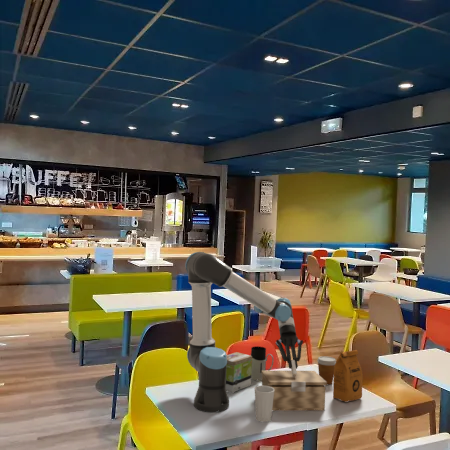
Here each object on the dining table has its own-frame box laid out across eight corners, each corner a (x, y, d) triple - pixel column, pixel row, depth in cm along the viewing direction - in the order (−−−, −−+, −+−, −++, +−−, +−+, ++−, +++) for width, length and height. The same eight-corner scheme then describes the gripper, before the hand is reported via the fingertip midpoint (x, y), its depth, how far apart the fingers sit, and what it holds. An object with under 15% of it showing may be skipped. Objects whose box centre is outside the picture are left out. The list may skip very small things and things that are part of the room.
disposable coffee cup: (313, 379, 240) (313, 356, 240) (329, 378, 243) (330, 355, 242) (322, 386, 231) (323, 361, 231) (339, 385, 233) (340, 360, 233)
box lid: (269, 391, 197) (269, 381, 197) (261, 378, 216) (261, 370, 216) (327, 391, 200) (327, 382, 200) (314, 379, 218) (314, 370, 218)
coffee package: (365, 400, 214) (367, 352, 214) (345, 405, 208) (347, 355, 207) (349, 393, 222) (351, 346, 222) (329, 397, 216) (331, 349, 216)
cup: (257, 423, 185) (258, 393, 185) (250, 415, 192) (251, 386, 192) (276, 421, 187) (277, 391, 187) (268, 413, 195) (270, 385, 195)
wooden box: (269, 410, 198) (270, 386, 198) (261, 394, 216) (262, 373, 216) (324, 410, 200) (325, 387, 200) (312, 394, 218) (313, 373, 218)
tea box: (233, 393, 216) (234, 361, 216) (216, 388, 222) (217, 357, 222) (251, 385, 228) (252, 355, 228) (234, 380, 234) (236, 351, 234)
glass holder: (256, 373, 246) (257, 345, 246) (277, 380, 236) (279, 351, 236) (245, 377, 240) (246, 347, 240) (266, 384, 230) (267, 354, 230)
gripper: (298, 332, 225) (307, 379, 209) (272, 332, 224) (278, 379, 207) (302, 324, 220) (311, 371, 203) (274, 323, 219) (281, 370, 202)
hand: (294, 375), depth 205 cm, fingers closed
